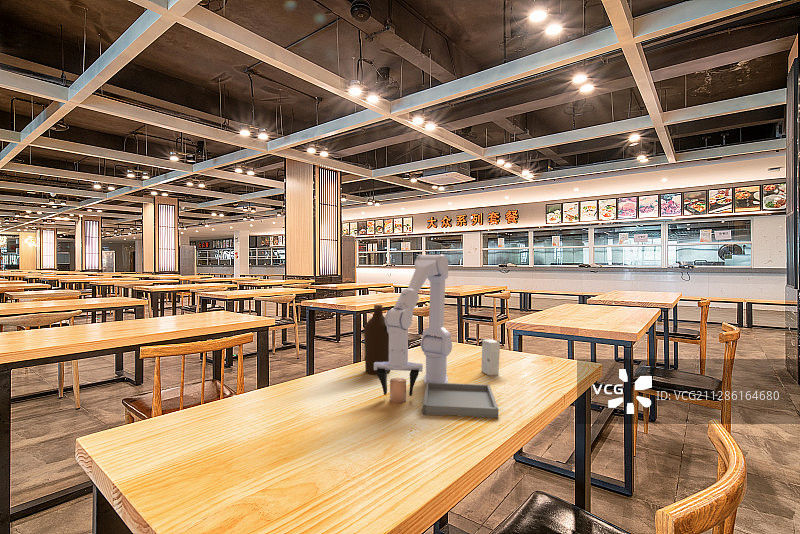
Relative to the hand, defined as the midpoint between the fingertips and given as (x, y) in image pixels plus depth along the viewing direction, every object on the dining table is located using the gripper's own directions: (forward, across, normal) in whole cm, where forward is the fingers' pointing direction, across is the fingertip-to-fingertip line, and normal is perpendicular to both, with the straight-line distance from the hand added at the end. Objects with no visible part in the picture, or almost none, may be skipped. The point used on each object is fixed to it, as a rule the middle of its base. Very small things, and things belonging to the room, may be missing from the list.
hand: (398, 394), depth 115 cm
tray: (+2, +18, 0) cm, 18 cm away
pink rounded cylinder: (+2, 0, 0) cm, 2 cm away
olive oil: (+2, -11, +29) cm, 31 cm away
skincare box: (+2, +31, +32) cm, 45 cm away
